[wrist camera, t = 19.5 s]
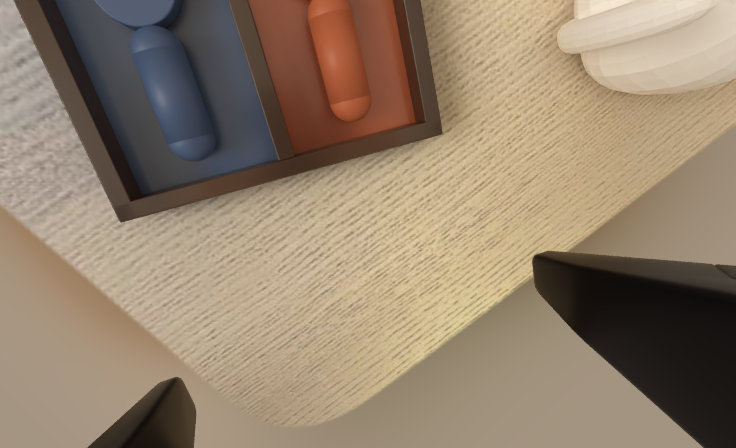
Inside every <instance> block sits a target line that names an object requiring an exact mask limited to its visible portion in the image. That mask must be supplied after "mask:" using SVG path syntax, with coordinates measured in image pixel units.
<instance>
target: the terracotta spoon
mask: <svg viewBox="0 0 736 448" xmlns="http://www.w3.org/2000/svg"><path fill="white" fill-rule="evenodd" d="M308 22H309V26H310V30H311V34H312V38H313V42H314V46H315V49H316V53H317V57H318V61H319V65H320V69H321V73H322V76H323V80H324V84H325V88H326V92H327V96H328V100H329V103H330V107H331V109H332V111H333V113H334V114H335V115H336V116H337V117H338V118H339V119H341V120H343V121H347V122H355V121H358V120H360V119H362V118H363V117H364V116H365V115H366V114H367V113H368V111H369V109H370V106H371V93H370V89H369V84H368V80H367V75H366V71H365V66H364V62H363V57H362V53H361V49H360V44H359V40H358V35H357V31H356V26H355V22H354V17H353V13H352V9H351V6H350V4H349V2H348V1H347V0H312V1H311V3H310V5H309V8H308Z"/></svg>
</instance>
